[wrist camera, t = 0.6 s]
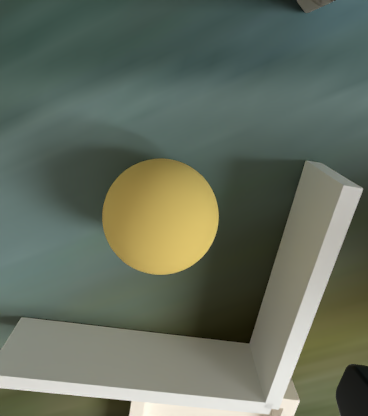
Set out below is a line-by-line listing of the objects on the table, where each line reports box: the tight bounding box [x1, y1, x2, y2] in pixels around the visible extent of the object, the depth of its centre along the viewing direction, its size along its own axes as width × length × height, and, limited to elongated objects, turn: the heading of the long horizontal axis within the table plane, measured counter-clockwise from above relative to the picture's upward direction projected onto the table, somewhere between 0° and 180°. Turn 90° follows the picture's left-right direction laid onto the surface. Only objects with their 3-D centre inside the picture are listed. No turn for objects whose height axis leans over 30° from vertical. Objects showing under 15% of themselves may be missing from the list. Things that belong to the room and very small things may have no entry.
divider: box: [0, 160, 363, 414], centre depth 16 cm, size 14×12×4 cm
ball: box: [102, 158, 219, 275], centre depth 15 cm, size 5×5×5 cm
